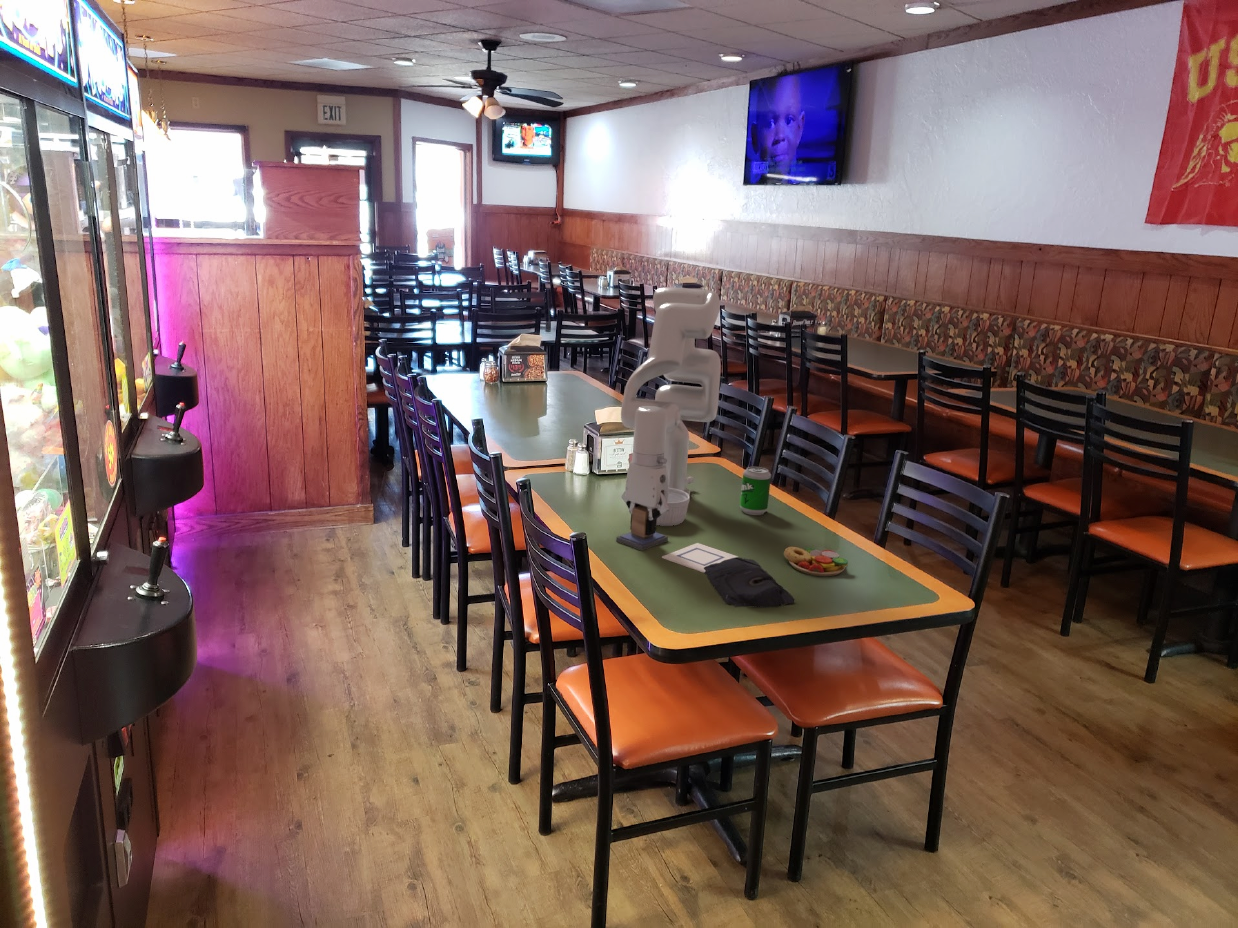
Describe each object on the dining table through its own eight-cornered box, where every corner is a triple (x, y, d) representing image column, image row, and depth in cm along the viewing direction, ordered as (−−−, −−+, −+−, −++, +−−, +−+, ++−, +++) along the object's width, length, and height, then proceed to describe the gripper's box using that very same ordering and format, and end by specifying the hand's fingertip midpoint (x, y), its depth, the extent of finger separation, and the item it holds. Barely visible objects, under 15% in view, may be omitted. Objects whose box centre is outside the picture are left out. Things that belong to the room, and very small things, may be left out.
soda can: (766, 508, 247) (770, 467, 243) (767, 517, 239) (772, 474, 236) (738, 506, 247) (743, 464, 244) (739, 514, 240) (744, 472, 237)
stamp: (641, 531, 217) (643, 504, 216) (653, 536, 215) (655, 508, 213) (630, 535, 215) (632, 507, 213) (643, 539, 212) (645, 512, 210)
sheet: (697, 543, 216) (697, 542, 216) (738, 557, 208) (738, 556, 208) (661, 557, 205) (661, 556, 205) (703, 572, 198) (704, 571, 198)
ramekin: (684, 530, 225) (686, 504, 223) (633, 524, 227) (635, 498, 225) (690, 515, 237) (692, 490, 235) (642, 509, 240) (644, 484, 238)
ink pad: (642, 532, 221) (642, 526, 221) (667, 540, 216) (668, 535, 216) (616, 541, 214) (616, 535, 214) (641, 550, 209) (642, 544, 209)
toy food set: (777, 558, 210) (778, 545, 209) (825, 554, 215) (826, 542, 214) (806, 580, 198) (808, 566, 197) (856, 575, 203) (858, 562, 202)
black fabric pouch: (761, 568, 204) (764, 549, 203) (798, 608, 183) (801, 587, 182) (698, 569, 201) (699, 549, 200) (727, 610, 180) (730, 589, 179)
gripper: (685, 463, 207) (679, 537, 212) (631, 448, 218) (626, 519, 222) (666, 469, 202) (660, 544, 207) (611, 453, 212) (606, 525, 217)
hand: (642, 530), depth 214 cm, fingers closed on stamp, 4 cm apart
